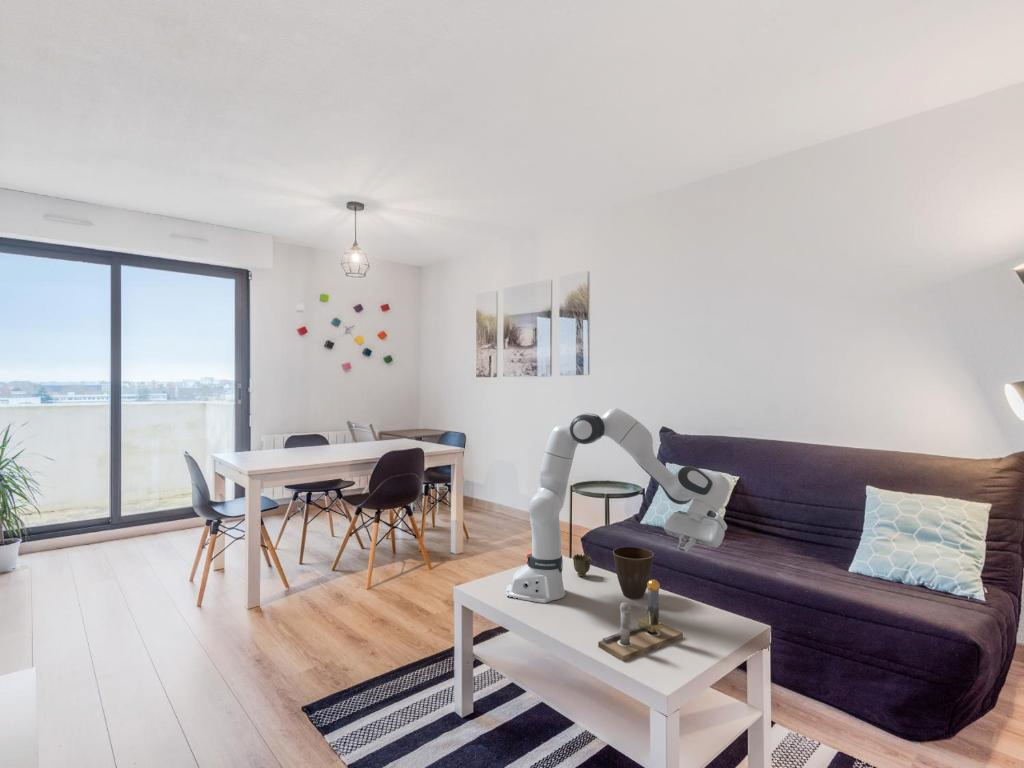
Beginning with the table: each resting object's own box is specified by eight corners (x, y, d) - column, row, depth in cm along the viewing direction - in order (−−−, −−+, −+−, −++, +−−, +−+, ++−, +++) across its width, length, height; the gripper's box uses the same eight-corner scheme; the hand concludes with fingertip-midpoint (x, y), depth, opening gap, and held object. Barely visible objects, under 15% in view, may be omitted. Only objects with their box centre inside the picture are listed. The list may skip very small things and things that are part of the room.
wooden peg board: (657, 625, 166) (657, 583, 166) (682, 637, 158) (682, 593, 158) (598, 646, 152) (598, 601, 152) (623, 661, 143) (623, 613, 144)
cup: (587, 580, 207) (587, 560, 207) (570, 577, 210) (570, 557, 210) (593, 574, 213) (593, 555, 213) (576, 571, 217) (576, 552, 217)
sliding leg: (646, 624, 163) (646, 574, 163) (662, 631, 157) (662, 580, 158) (637, 627, 160) (637, 576, 161) (653, 635, 155) (653, 583, 155)
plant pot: (645, 607, 181) (645, 561, 181) (606, 597, 189) (606, 553, 190) (659, 593, 193) (659, 551, 194) (621, 585, 202) (621, 544, 202)
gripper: (671, 504, 179) (652, 536, 173) (724, 515, 162) (704, 551, 156) (679, 515, 181) (661, 547, 176) (732, 528, 164) (713, 564, 159)
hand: (682, 549), depth 166 cm, fingers closed
